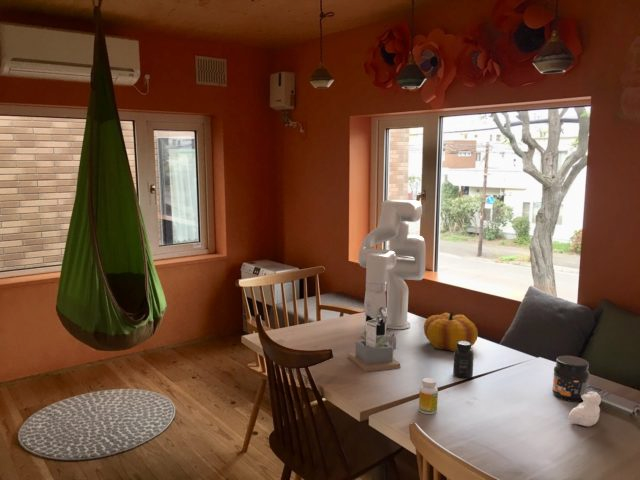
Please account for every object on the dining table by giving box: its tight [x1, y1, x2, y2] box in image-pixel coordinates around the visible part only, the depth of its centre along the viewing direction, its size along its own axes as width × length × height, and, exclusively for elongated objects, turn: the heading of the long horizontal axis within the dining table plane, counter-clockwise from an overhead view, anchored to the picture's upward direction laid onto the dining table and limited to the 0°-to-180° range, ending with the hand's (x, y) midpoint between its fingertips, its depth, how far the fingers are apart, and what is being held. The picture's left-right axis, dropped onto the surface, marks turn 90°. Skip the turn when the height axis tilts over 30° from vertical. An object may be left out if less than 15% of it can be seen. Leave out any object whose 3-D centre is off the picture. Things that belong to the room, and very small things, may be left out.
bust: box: [567, 390, 602, 427], centre depth 160 cm, size 12×8×11 cm
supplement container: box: [552, 355, 590, 402], centre depth 179 cm, size 10×10×12 cm
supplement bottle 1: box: [418, 377, 439, 415], centre depth 167 cm, size 5×5×10 cm
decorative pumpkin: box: [423, 311, 479, 352], centre depth 225 cm, size 20×22×15 cm
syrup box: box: [364, 318, 387, 349], centre depth 206 cm, size 6×6×14 cm
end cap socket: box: [348, 339, 401, 373], centre depth 207 cm, size 16×14×7 cm
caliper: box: [360, 333, 397, 350], centre depth 229 cm, size 20×1×6 cm, turn 38°
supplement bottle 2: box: [452, 341, 475, 380], centre depth 195 cm, size 7×7×12 cm
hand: (375, 330), depth 206 cm, fingers open, 9 cm apart
